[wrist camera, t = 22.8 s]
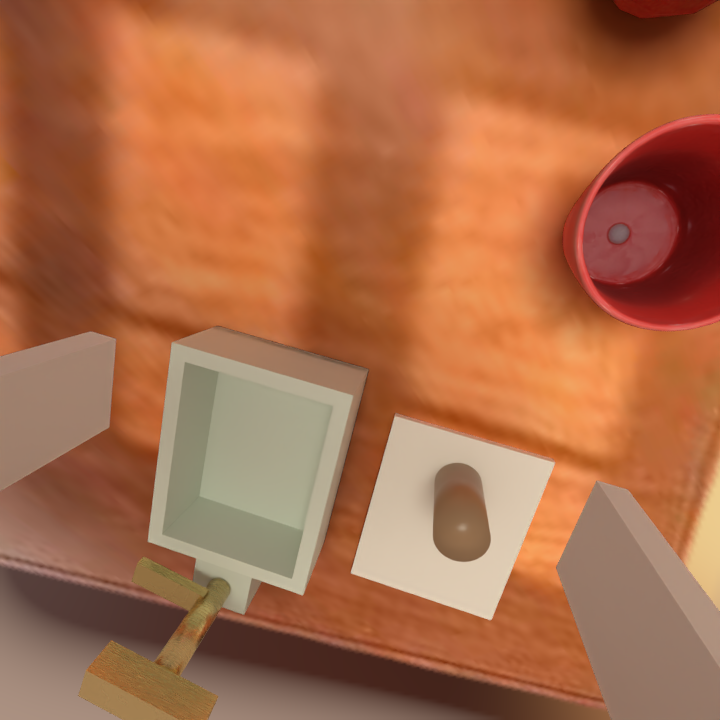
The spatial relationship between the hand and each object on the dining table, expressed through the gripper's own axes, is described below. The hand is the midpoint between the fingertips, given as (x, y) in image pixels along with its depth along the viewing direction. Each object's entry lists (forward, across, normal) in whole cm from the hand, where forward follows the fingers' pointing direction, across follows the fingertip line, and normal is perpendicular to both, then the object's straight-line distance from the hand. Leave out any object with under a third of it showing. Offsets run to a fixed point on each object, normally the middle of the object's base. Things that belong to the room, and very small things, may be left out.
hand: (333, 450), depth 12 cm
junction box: (+26, -8, -17) cm, 32 cm away
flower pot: (+26, +14, +9) cm, 31 cm away
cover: (+26, +9, -17) cm, 32 cm away
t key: (+18, -10, -26) cm, 33 cm away
